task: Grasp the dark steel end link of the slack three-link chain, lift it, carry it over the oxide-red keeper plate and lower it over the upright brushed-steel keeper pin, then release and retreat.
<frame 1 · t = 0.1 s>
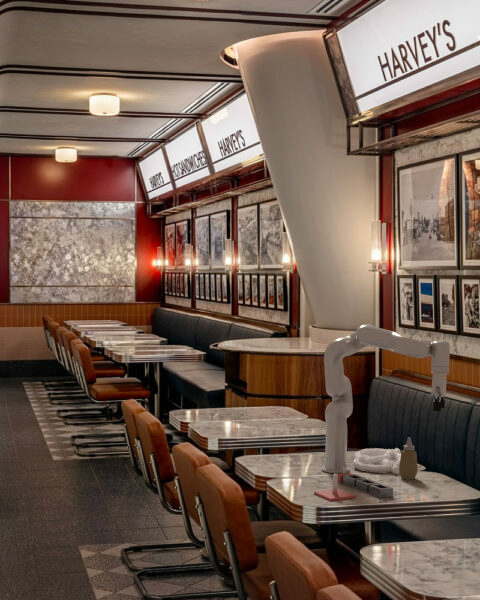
hand: (438, 409, 379), 31 cm above the table, tool pointing down, fingers open, 9 cm apart
pretzel: (379, 467, 406), on the table
link b: (367, 490, 362), on the table
keeper: (334, 496, 351), on the table
end link: (380, 495, 354), on the table
link a: (354, 485, 370), on the table
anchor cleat: (344, 481, 376), on the table
squeeze bottle: (408, 479, 384), on the table
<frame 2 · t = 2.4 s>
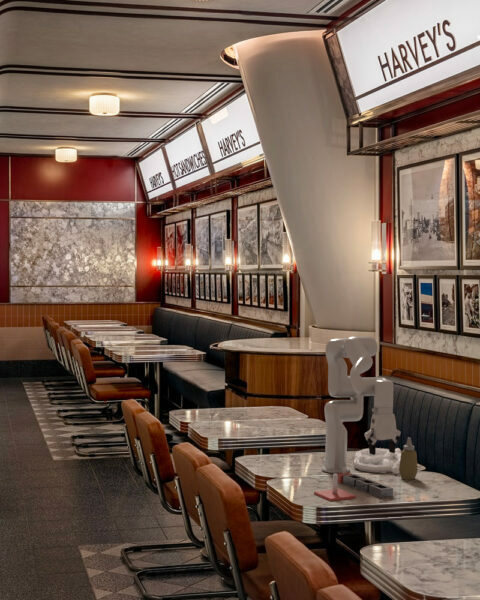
hand: (382, 453, 353), 17 cm above the table, tool pointing down, fingers open, 9 cm apart
nothing on the table moved.
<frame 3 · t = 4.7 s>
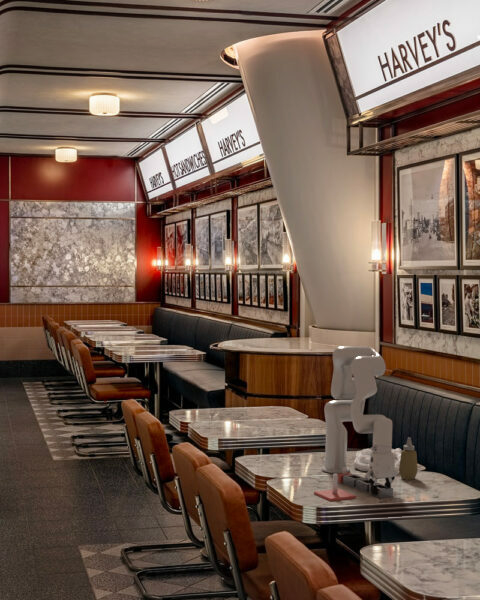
hand: (380, 493, 354), 1 cm above the table, tool pointing down, fingers closed on end link, 6 cm apart
end link: (380, 495, 354), on the table, touching gripper
everything else where it was.
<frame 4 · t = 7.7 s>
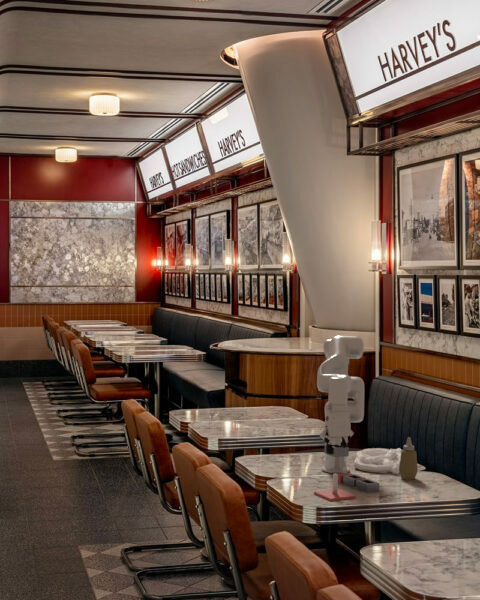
hand: (336, 452, 350), 17 cm above the table, tool pointing down, fingers closed on end link, 6 cm apart
end link: (336, 454, 350), point 17 cm above the table, touching gripper
everything else where it was.
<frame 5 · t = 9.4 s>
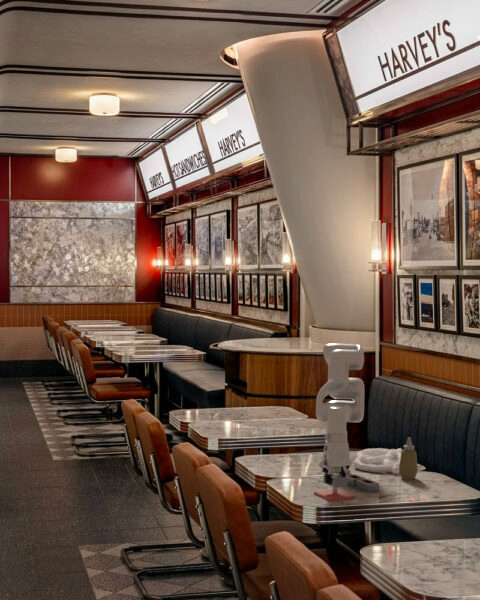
hand: (335, 482, 350), 5 cm above the table, tool pointing down, fingers closed on end link, 6 cm apart
end link: (335, 484, 350), point 5 cm above the table, touching gripper
everything else where it was.
when the fingers open (3 cm above the table, at t = 10.7 s): end link drops 1 cm, resting on keeper.
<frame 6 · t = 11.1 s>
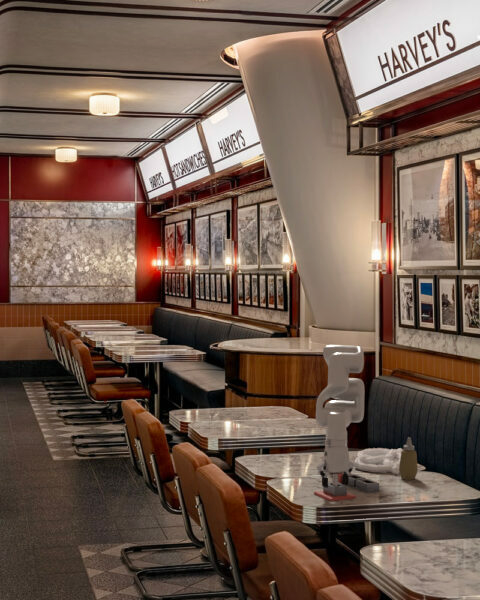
hand: (335, 485, 351), 4 cm above the table, tool pointing down, fingers open, 9 cm apart
end link: (335, 493, 351), point 1 cm above the table, touching keeper
everything else where it was.
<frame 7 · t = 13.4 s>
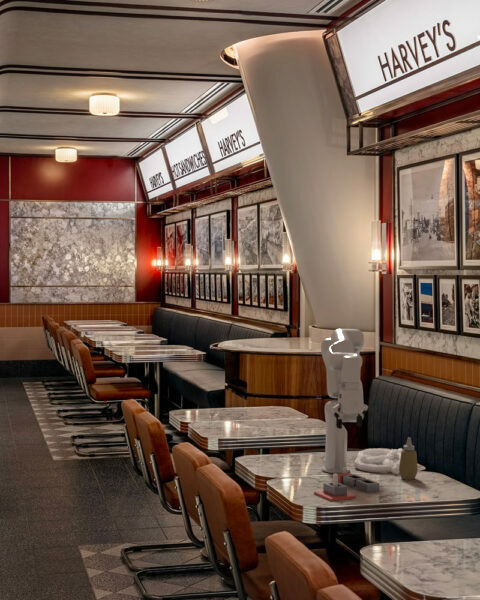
hand: (349, 427, 361), 26 cm above the table, tool pointing down, fingers open, 9 cm apart
nothing on the table moved.
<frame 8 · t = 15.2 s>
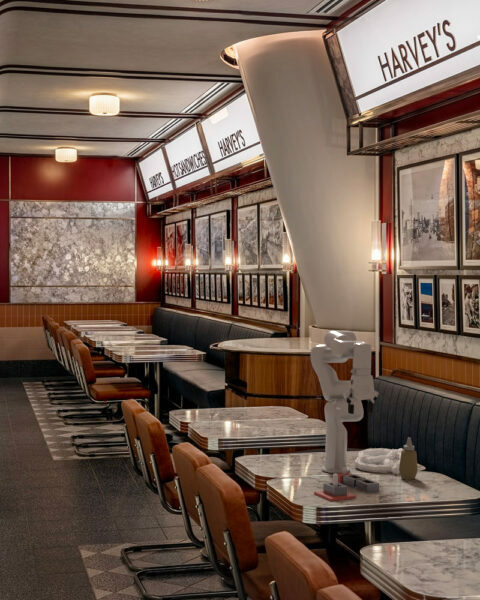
hand: (360, 413, 370), 30 cm above the table, tool pointing down, fingers open, 9 cm apart
at the end: end link 0.1 cm off-centre on the keeper, point 1.0 cm above the keeper's base; end link tilted 0°; the gripper is holding nothing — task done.
